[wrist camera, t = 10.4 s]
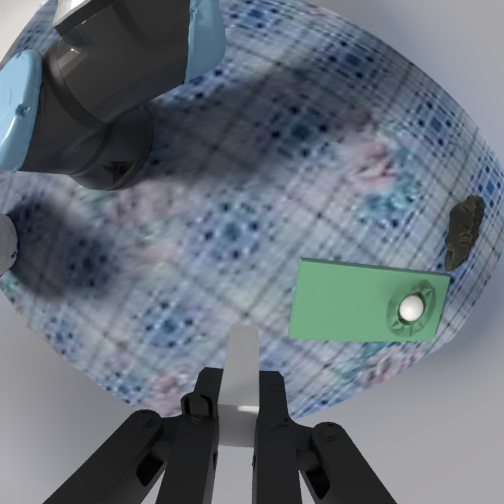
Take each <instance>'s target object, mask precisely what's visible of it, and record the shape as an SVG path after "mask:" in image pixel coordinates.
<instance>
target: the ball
mask: <svg viewBox="0 0 504 504" xmlns="http://www.w3.org/2000/svg"><path fill="white" fill-rule="evenodd" d="M399 312H400V315H401V316H402V317H403V318H404V319H405V320H407V321H414V320H416V319H418V318H419V317H420V316H421V314H422V312H423V302H422V300H421V299H420V298H419V297H418V296H416V295H408V296H406V297H405V298H403V300H402V301H401V303H400V306H399Z"/></svg>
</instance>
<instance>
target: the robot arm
mask: <svg viewBox="0 0 504 504" xmlns="http://www.w3.org/2000/svg"><path fill="white" fill-rule="evenodd" d="M53 26H54V28H55V29H56V30H57V32H58V33H59V34H60V36H61V38H60V39H59V40H58V41H57V42H55V43H54V44H53V45H52V46H51V47H49V48H48V49H47V50H46V51H45V52H44V53H42V54H40V53H39V52H38V51H37V50H25V51H21V52H19V53H18V54H16V55H15V56H14V57H13V58H12V59H10V61H9V62H8V63H7V64H6V65H5V67H4V68H3V69H2V71H1V72H0V169H2V170H7V171H10V172H16V171H25V172H39V173H52V174H65V175H68V176H69V177H71V178H72V179H74V180H75V181H76V182H78V183H79V184H80V185H82V186H84V187H86V188H89V189H93V190H111V189H115V188H117V187H120V186H122V185H123V184H125V183H126V182H128V181H129V180H130V179H131V178H133V177H134V176H135V175H136V173H137V172H138V171H139V170H140V168H141V167H142V165H143V164H144V162H145V160H146V158H147V156H148V154H149V151H150V148H151V144H152V137H153V128H152V122H151V118H150V115H149V113H148V112H147V110H146V109H145V107H144V106H143V104H145V103H147V102H148V101H150V100H152V99H154V98H156V97H158V96H160V95H162V94H164V93H166V92H168V91H170V90H172V89H174V88H176V87H178V86H180V85H182V86H184V85H186V84H187V83H188V82H189V81H190V80H192V79H194V78H196V77H198V76H200V75H202V74H204V73H206V72H208V71H210V70H212V69H214V68H216V67H217V66H218V65H219V64H220V63H221V62H222V60H223V58H224V55H225V51H226V35H225V27H224V21H223V16H222V12H221V8H220V4H219V0H58V8H57V11H56V15H55V18H54V21H53ZM180 401H181V408H182V414H181V415H179V416H175V417H164V418H161V417H160V415H159V414H158V413H156V412H155V411H152V410H148V409H145V410H138V411H135V412H134V413H133V414H131V415H130V416H129V417H128V419H126V420H125V422H124V423H123V424H122V425H121V426H120V427H119V428H118V429H117V430H116V431H115V432H114V433H113V434H112V435H111V436H110V437H109V438H108V439H107V440H106V441H105V442H104V443H103V444H102V445H101V446H100V447H99V448H98V449H97V450H96V451H95V453H94V454H92V456H91V457H90V458H89V459H88V460H87V461H86V462H85V463H84V464H83V465H82V466H81V467H80V468H79V469H78V470H77V471H76V472H75V473H74V474H73V475H72V476H71V477H70V478H68V479H67V480H66V481H65V482H64V483H63V484H62V485H61V486H60V487H59V488H58V489H57V490H56V491H55V492H54V493H53V494H52V495H51V496H50V497H49V498H48V499H47V500H46V501H45V502H44V503H43V504H141V503H142V501H143V500H144V498H145V497H146V496H147V494H148V493H149V491H150V490H151V489H152V487H153V486H154V484H155V483H156V482H157V480H158V479H159V477H160V475H161V474H162V473H163V471H164V470H165V473H164V476H163V479H162V483H161V486H160V489H159V493H158V497H157V500H156V503H155V504H211V501H212V493H213V486H214V479H215V472H216V465H217V458H218V443H219V445H225V446H236V447H253V448H254V455H253V462H252V466H253V479H252V504H302V497H301V488H300V480H299V471H298V470H300V473H301V475H302V477H303V479H304V481H305V483H306V485H307V487H308V489H309V492H310V494H311V496H312V498H313V500H314V502H315V504H397V503H396V502H395V500H394V499H393V498H392V496H391V495H390V493H389V492H388V491H387V489H386V488H385V487H384V485H383V484H382V483H381V481H380V480H379V478H378V477H377V475H376V474H375V473H374V471H373V470H372V468H371V467H370V466H369V464H368V463H367V461H366V460H365V459H364V457H363V456H362V455H361V453H360V451H359V450H358V448H357V447H356V446H355V444H354V443H353V441H352V440H351V438H350V437H349V436H348V434H347V433H346V431H345V430H344V429H343V428H342V427H341V426H340V425H338V424H336V423H333V422H322V423H320V424H317V425H316V426H315V427H314V428H311V427H306V426H302V425H299V424H297V423H295V422H294V421H293V420H292V419H291V418H290V417H289V414H288V408H287V400H286V392H285V385H284V378H283V376H282V375H281V374H280V373H279V371H259V326H245V325H232V329H231V334H230V339H229V344H228V350H227V355H226V361H225V366H224V369H219V368H209V367H205V368H204V369H203V370H202V371H201V372H200V373H199V376H198V379H197V382H196V385H195V388H194V392H191V393H188V394H186V395H184V396H183V397H182V399H181V400H180Z"/></svg>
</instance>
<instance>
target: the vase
mask: <svg viewBox="0 0 504 504" xmlns="http://www.w3.org/2000/svg"><path fill="white" fill-rule="evenodd" d="M18 255H19V236H18V231H17V228H16V225H15V223H14V221H13V220H12V219H11V218H10V217H9V216H7V215H3V214H1V213H0V277H1V276H2V275H3V274H4V273H5V272H6V271H7V270H8V269H10V268H11V267H12V266H13V265H14V264H15V263H16V261H17V259H18Z"/></svg>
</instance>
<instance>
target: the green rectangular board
mask: <svg viewBox="0 0 504 504" xmlns="http://www.w3.org/2000/svg"><path fill="white" fill-rule="evenodd" d="M449 281H450V276H447V275H445V274H443V273H436V272H427V271H418V270H409V269H400V268H391V267H382V266H373V265H364V264H355V263H346V262H337V261H328V260H319V259H310V258H301V257H300V259H299V267H298V273H297V280H296V287H295V293H294V299H293V306H292V312H291V318H290V323H289V329H288V331H289V336H290V338H298V339H314V340H334V341H423V340H433V337H434V334H435V331H436V328H437V325H438V322H439V318H440V315H441V312H442V308H443V304H444V301H445V297H446V293H447V289H448V285H449ZM417 292H418V293H417ZM408 295H416V296H418V295H419V296H418V297H419V298H420V299H421V300H422V302H423V312H422V314H421V316H420V317H419V318H418V319H416V320H414V321H407V320H405V319H404V318H403V317H402V316H401V315H400V312H399V306H400V303H401V301H402V300H403V298H405V297H406V296H408ZM398 318H399V319H398Z"/></svg>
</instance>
